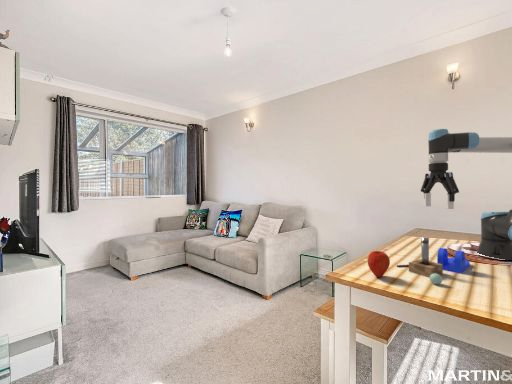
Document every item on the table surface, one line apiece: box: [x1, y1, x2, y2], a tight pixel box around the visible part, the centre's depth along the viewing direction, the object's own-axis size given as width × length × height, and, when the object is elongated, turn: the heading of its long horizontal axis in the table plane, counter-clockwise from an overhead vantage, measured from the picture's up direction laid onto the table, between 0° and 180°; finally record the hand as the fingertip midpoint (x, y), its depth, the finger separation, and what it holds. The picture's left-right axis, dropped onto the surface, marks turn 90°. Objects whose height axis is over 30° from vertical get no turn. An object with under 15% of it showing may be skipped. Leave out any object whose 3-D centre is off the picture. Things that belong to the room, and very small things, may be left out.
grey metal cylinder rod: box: [420, 237, 430, 265], centre depth 109 cm, size 3×3×15 cm
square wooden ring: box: [408, 258, 444, 278], centre depth 109 cm, size 9×9×4 cm
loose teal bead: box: [429, 273, 443, 285], centre depth 97 cm, size 4×4×4 cm
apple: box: [367, 250, 391, 278], centre depth 106 cm, size 9×8×11 cm
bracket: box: [436, 247, 471, 275], centre depth 116 cm, size 18×8×9 cm, turn 128°
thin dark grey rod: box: [396, 264, 409, 268], centre depth 118 cm, size 14×1×1 cm, turn 94°
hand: (438, 207), depth 120 cm, fingers open, 13 cm apart
